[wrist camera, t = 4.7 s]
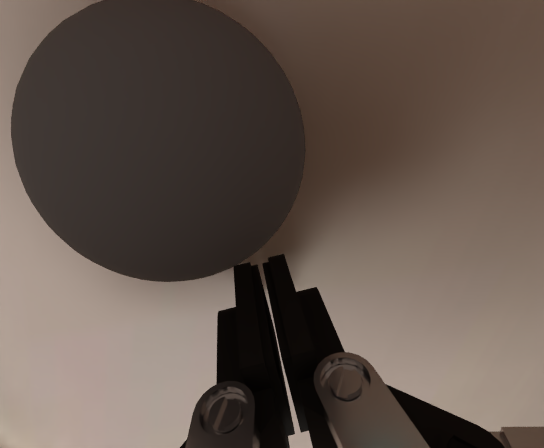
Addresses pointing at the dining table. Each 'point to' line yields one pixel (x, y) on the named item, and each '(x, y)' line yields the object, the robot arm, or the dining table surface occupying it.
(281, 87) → the gray ball
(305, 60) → the dining table surface
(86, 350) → the dining table surface
